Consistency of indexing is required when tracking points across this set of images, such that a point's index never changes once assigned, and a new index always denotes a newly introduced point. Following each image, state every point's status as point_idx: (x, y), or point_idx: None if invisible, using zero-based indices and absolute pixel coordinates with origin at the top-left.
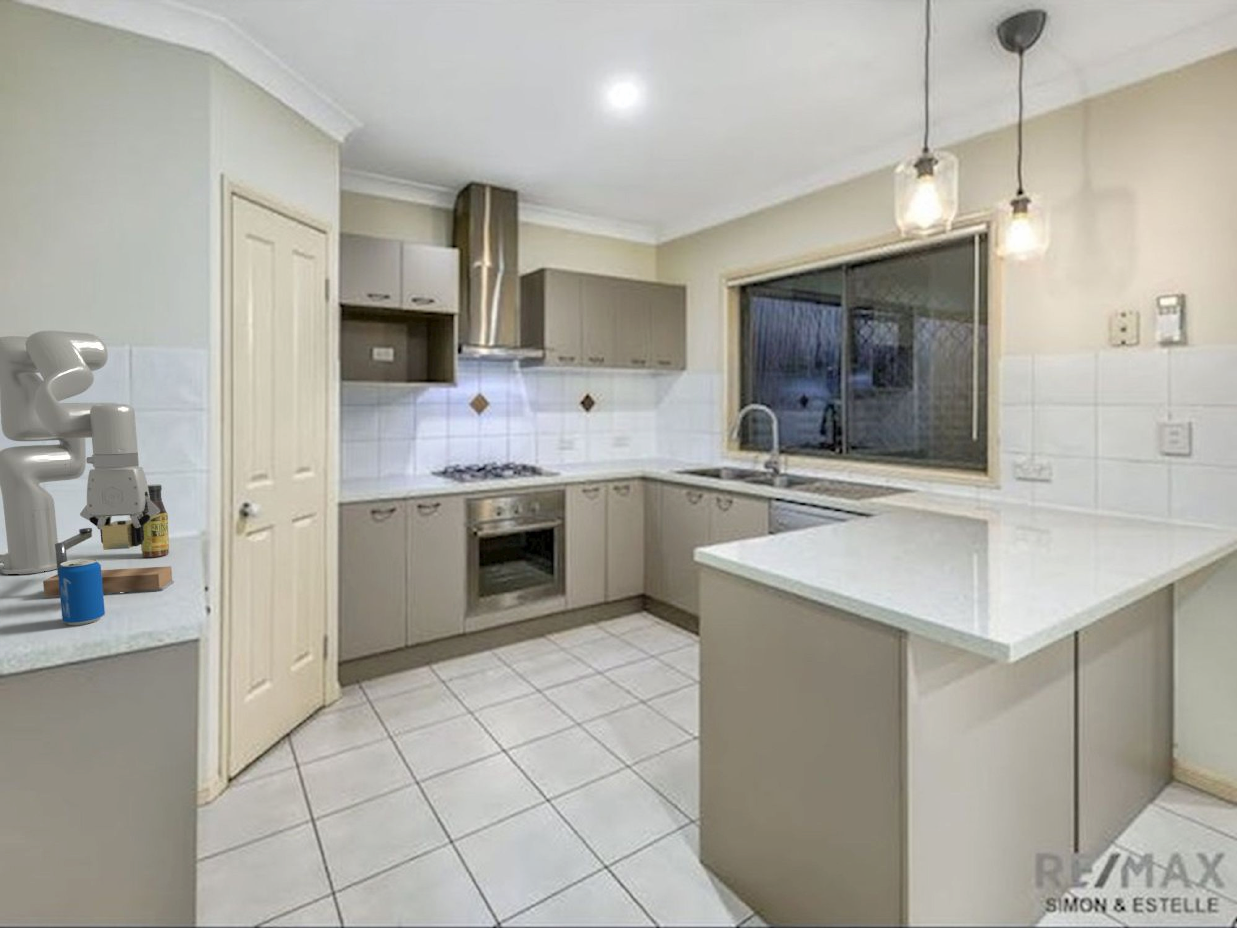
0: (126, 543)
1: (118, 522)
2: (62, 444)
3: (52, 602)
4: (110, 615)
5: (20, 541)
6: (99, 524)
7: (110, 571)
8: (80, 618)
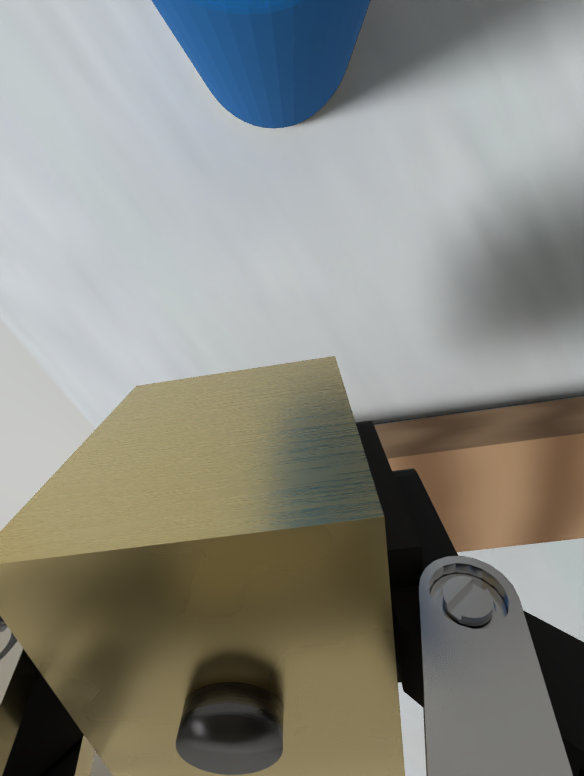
0: (129, 403)
1: (242, 705)
2: None
3: (553, 340)
4: (209, 126)
5: None
6: (495, 631)
7: (445, 529)
8: None
